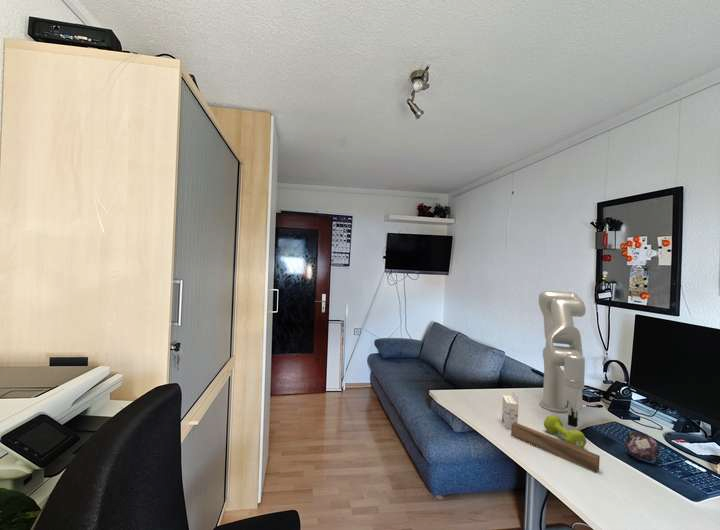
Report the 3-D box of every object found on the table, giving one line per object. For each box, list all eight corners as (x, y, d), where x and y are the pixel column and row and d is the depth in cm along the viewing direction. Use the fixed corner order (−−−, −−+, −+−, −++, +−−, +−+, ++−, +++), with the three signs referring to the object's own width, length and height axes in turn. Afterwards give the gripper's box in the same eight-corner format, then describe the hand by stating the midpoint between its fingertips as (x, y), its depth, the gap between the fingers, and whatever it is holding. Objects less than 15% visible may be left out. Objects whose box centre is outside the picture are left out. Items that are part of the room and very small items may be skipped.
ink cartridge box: (501, 419, 150) (502, 388, 150) (512, 421, 149) (513, 389, 149) (505, 428, 142) (507, 395, 142) (517, 430, 141) (519, 396, 141)
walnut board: (514, 433, 138) (514, 422, 138) (599, 469, 115) (599, 455, 115) (511, 435, 136) (511, 424, 136) (596, 472, 113) (597, 458, 113)
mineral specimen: (616, 449, 125) (622, 424, 126) (631, 456, 128) (637, 431, 130) (646, 464, 116) (653, 436, 117) (661, 470, 119) (668, 443, 121)
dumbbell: (588, 451, 126) (589, 433, 126) (569, 452, 125) (570, 434, 125) (558, 430, 143) (558, 414, 143) (541, 430, 142) (542, 414, 142)
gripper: (569, 377, 148) (568, 418, 147) (557, 383, 138) (556, 427, 138) (589, 382, 142) (588, 424, 141) (578, 389, 132) (576, 434, 132)
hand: (572, 425), depth 140 cm, fingers closed
